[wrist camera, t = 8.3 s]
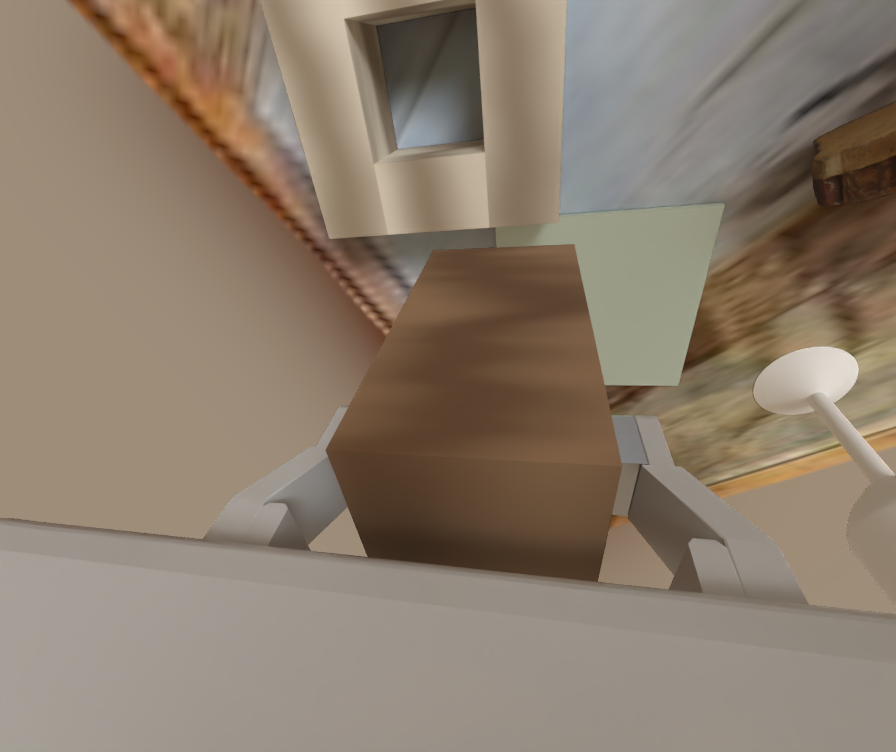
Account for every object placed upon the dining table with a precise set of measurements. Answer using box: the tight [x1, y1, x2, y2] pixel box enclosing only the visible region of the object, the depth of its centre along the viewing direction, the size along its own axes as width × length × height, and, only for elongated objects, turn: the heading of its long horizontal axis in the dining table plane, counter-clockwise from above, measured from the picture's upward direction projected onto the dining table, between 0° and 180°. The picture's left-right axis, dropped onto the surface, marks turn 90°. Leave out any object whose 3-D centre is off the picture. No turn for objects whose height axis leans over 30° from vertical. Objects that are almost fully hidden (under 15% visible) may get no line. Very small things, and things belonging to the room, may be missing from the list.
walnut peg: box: [325, 244, 622, 582], centre depth 12 cm, size 5×5×10 cm
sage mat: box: [495, 203, 725, 386], centre depth 31 cm, size 14×14×1 cm
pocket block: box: [260, 0, 567, 239], centre depth 22 cm, size 14×14×5 cm
